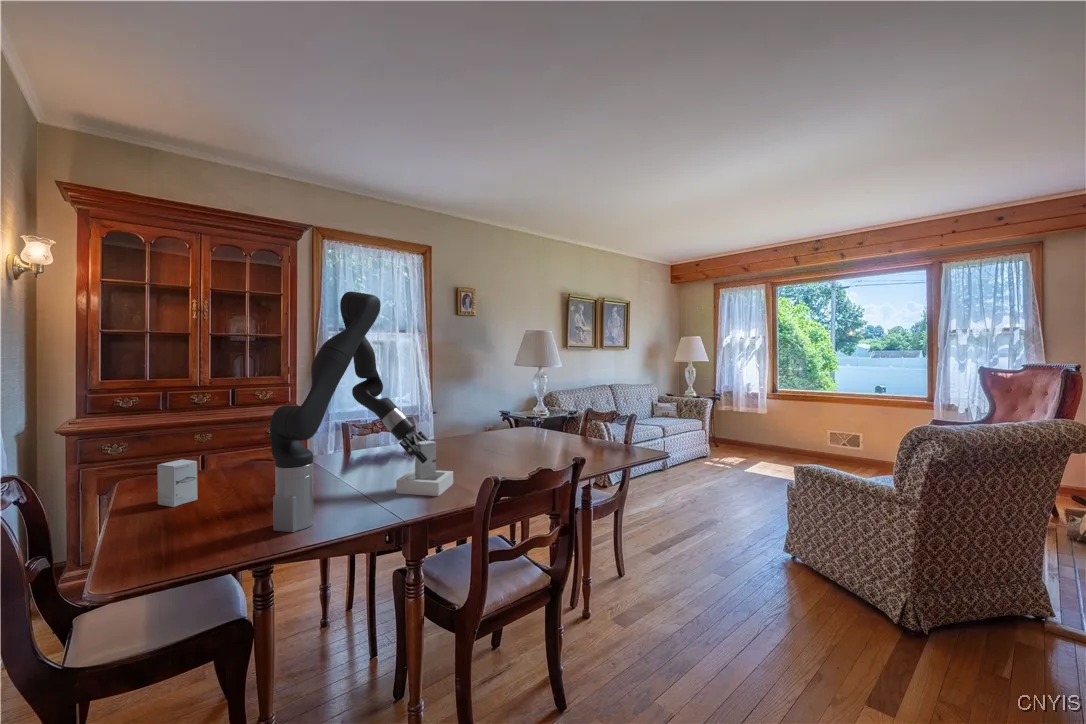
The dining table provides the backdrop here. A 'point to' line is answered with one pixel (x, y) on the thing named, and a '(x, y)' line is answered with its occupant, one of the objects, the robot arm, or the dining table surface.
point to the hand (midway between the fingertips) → (429, 458)
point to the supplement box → (177, 482)
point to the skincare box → (429, 466)
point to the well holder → (424, 483)
